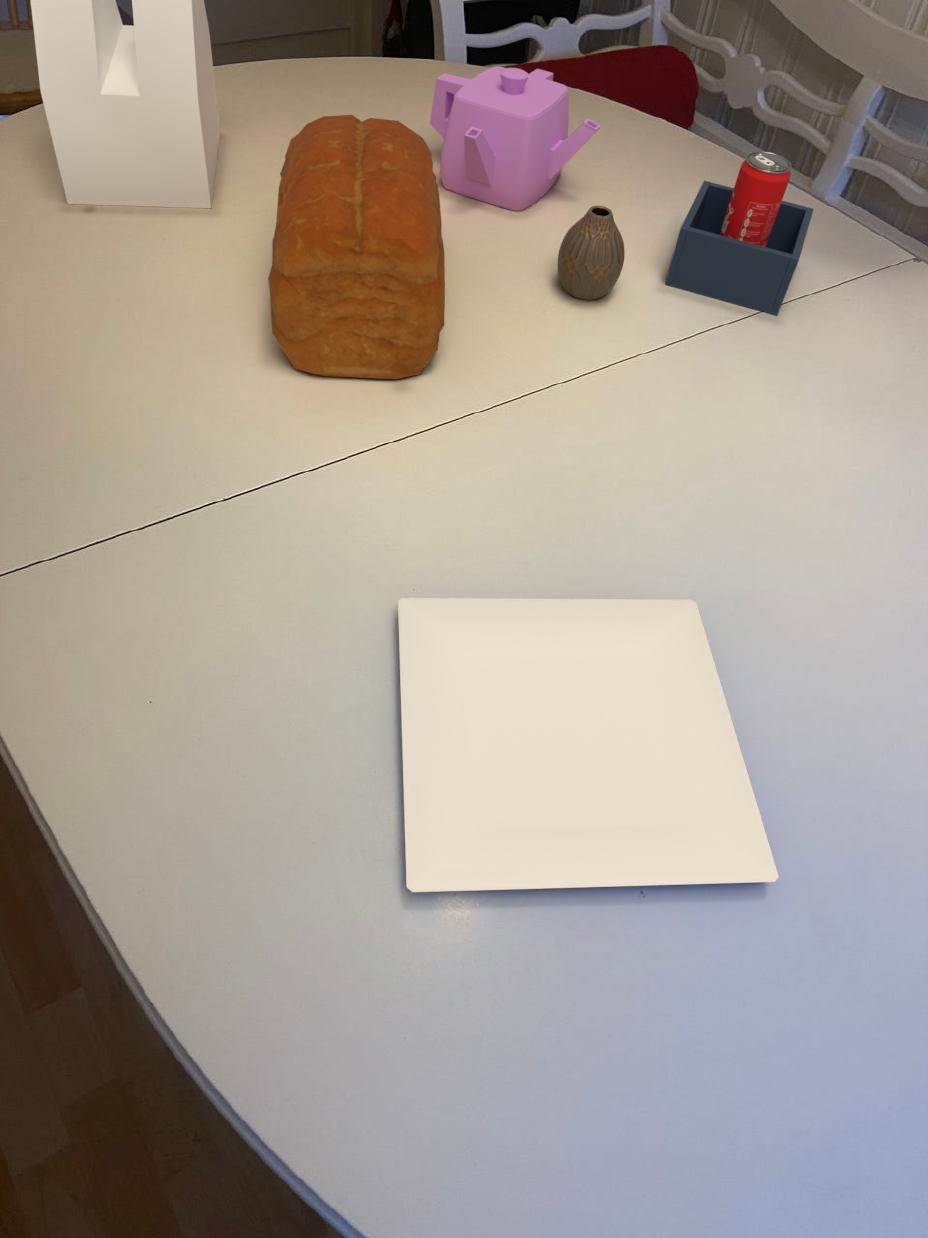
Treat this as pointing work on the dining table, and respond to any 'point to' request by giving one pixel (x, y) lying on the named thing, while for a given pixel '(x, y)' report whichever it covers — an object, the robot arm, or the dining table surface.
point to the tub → (737, 253)
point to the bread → (358, 251)
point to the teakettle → (504, 134)
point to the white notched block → (129, 101)
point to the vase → (591, 255)
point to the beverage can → (756, 198)
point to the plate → (569, 748)
